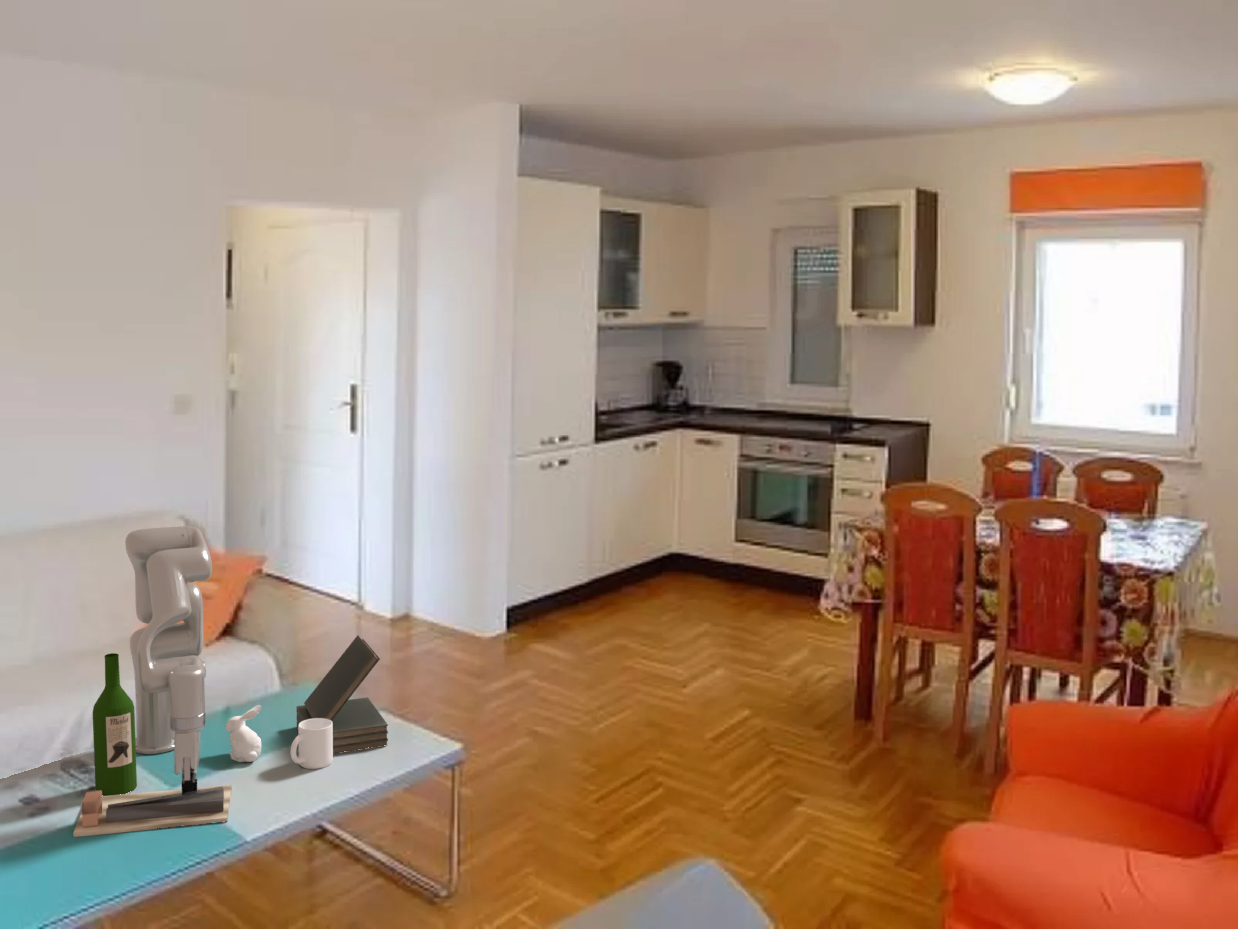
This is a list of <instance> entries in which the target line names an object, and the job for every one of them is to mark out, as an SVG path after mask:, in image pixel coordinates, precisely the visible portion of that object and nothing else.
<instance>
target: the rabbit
mask: <svg viewBox="0 0 1238 929" xmlns="http://www.w3.org/2000/svg"><path fill="white" fill-rule="evenodd" d="M261 711H262V706H261V705H260V704H257V705H255V706H253V707H251V709H249V710H248V711H246V712H245V713H243V714H242V715H235V716H232V717H230V718H229V719H228V720H227V722H226V723H225V725H224V728H225V731H226V733H227V732H228V733H230V734H229V742H230V747H231V752H230V753H229V756H230V759H231V760H233V761H234V762H235V761H236V762H238V763H245V762H246V763H251V762H254V761H257V759H259V757H260V755H261V753H262V739H261V737H259V736H258V734H257V733H256V732H255V731H254V730H252V729H251V728H250V727H249V726H247V725H246V721H248V720H251V719H253V718H255V717H257V715H258V714H259V713H260V712H261Z"/></svg>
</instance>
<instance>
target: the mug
mask: <svg viewBox="0 0 1238 929" xmlns="http://www.w3.org/2000/svg"><path fill="white" fill-rule="evenodd" d="M297 730H298V732H297V733H298V735H297V736H295V738H294V740H292V743H291V746H290V758H291V761H292V762H294V763H295V764H296V765H297V764H299V766H301V767H302V768H304V769H307V770H320V769H323V768H326V767H329V766H330V765H331V764H332V763H333V761H334V760H333V759H334V754H333V723H332V721H331V720H329V719H325V718H313V719H307V720H304V721H302V722H300V723H299V725H298V728H297ZM297 748H298V755H297Z"/></svg>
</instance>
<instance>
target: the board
mask: <svg viewBox="0 0 1238 929" xmlns="http://www.w3.org/2000/svg"><path fill="white" fill-rule="evenodd" d="M232 785H233V784H226V785H223V784H222V785H215V786H213V785H212V786H202V787H197V790H204V789H210V788H216V787H222V786H223V789H224V797H221V798H210V799H200V800H189V801H178V802H167V803H156V804H145V805H134V806H123V807H113V808H108V805H109V804H116V803H122V802H128V801H135V800H141V799H147V798H153V797H160V796H166V795H172V794H179V793H182V788H179V789H169V790H168V789H167V790H157V791H147V792H146V791H145V792H133V793H127V794H121V795H110V796H102V807H103V813H102V814H98V825H94V826H84V827H83V824H82V813H81V814H80V816H79V818H78V821H77V823H76V826H75V827H74V830H73V832H72V833H73V838H78V837H89V836H98V835H109V834H118V833H128V832H129V833H130V832H141V831H150V830H160V829H159V828H161V829H169V828H168V827H171V828H176V827H175V826H181V827H183V826H182V825H192V826H199V824H202V825H207V824H206V823H212V822H222V823H224V822H223V821H227V822H228V819H229V812H230V806H229V805H230V804H231V797H232V791H233V790H232V789H233V786H232ZM212 824H213V823H212ZM157 828H158V829H157Z"/></svg>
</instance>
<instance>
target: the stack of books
mask: <svg viewBox="0 0 1238 929" xmlns="http://www.w3.org/2000/svg"><path fill="white" fill-rule="evenodd" d="M380 660H381V657H379V656H378V655H377V653H376V652H375V651H374V649H372V648H371V646H370V645H369V644H368V643H367V642H366V640H365V639H364V638H363V637H361V636H360V635H359V634H358V635H356V637H355V638H354V639H353V640H352V641H351V643H350V644H349V646H348V647H347V648H346V649H345V651H343V653H342V654H341V656H339V658H338V660H336V662H335V663H334V664H333V666H332V667H331V668H330V670H328V672H327V673H326V674H325V675H324V677H323V678H322V679H321V680H320V682H319V684H317V686H316V687H315V688H314V690H313V691H312V692H311V693H310V694H309V696H308V697H307V699H305V701H304V702H303V704H304V705H297V706H296V728H297V729H298V725H299V723H300V722H302V721H304V720H307V719H313V718H325V719H329V720H331V721H332V723H333V755H334V753H336V754H341V753H340V752H343V753H345V752H344V751H350V752H355V751H354V750H356V751H359V750H358V749H363V750H366V749H365V748H368V747H369V748H370V749H372V748H371V747H377V748H379V747H378V746H384V745H387V746H388V741H389V739H388V734H389V731H388V726H389V724H388V723H387V721H386V720H385V719H384V718H383V716H382V714H381V713H380V712H379V711H378V709H377V708H376V707H375V705H374V704H373V701H371V700H370V698H369V697H359V698H352V699H350V698H351V697H352V695H353V694H354V693H355V692H356V691H357V689H358V688H359V687H360V685H361V684H362V683H363V681H364V680H365V679H366V677H368V675H369V674H370V673H371V671H373V669H374V668H375V666H377V664H378V662H379V661H380ZM384 747H385V746H384Z"/></svg>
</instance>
